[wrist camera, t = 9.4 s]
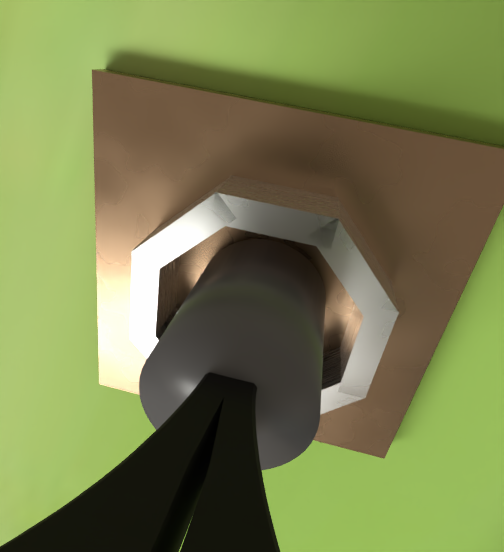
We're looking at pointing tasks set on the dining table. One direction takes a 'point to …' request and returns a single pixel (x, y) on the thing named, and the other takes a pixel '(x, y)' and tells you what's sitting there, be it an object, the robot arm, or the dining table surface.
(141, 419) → the dining table surface
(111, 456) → the dining table surface
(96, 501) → the robot arm
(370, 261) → the octagonal socket plate
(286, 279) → the dark grey cylinder peg
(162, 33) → the dining table surface
